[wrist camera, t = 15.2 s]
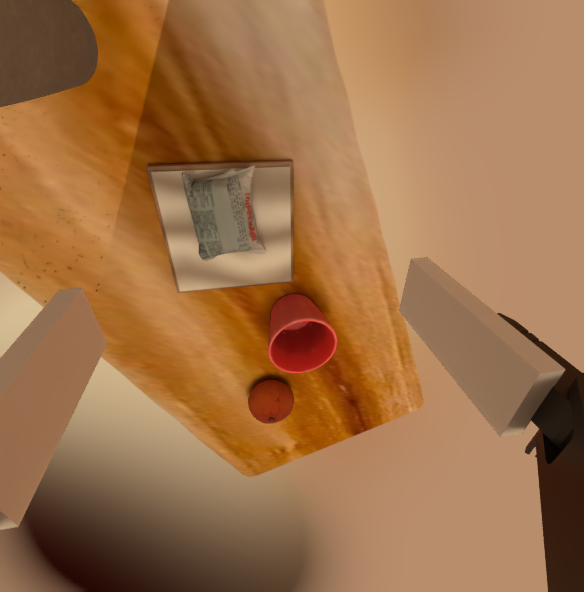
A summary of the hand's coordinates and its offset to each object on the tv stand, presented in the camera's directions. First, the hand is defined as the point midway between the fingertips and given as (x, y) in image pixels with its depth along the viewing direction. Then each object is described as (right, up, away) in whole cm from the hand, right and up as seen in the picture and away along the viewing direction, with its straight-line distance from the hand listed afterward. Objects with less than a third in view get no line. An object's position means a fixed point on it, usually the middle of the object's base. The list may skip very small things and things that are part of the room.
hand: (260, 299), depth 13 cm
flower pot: (+1, -2, +42) cm, 42 cm away
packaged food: (-6, +10, +31) cm, 33 cm away
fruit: (-4, -19, +52) cm, 55 cm away
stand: (-8, +10, +32) cm, 34 cm away
